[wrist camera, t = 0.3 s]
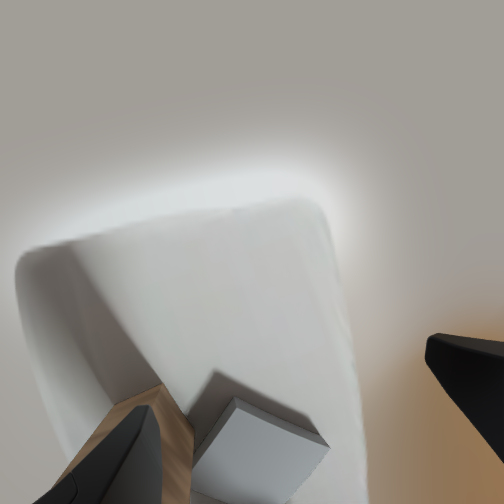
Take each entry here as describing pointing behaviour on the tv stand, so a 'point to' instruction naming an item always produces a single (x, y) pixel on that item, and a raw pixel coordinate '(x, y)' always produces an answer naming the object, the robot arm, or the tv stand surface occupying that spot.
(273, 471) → the grey block
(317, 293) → the tv stand surface
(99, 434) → the walnut block
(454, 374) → the robot arm
